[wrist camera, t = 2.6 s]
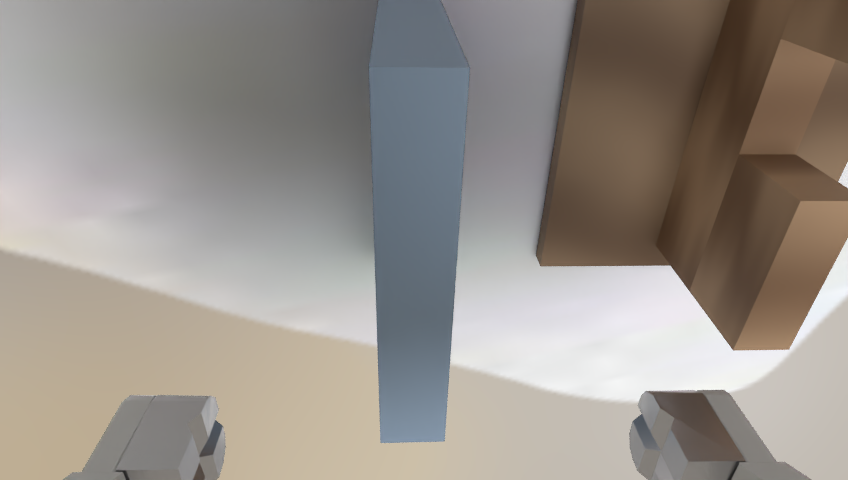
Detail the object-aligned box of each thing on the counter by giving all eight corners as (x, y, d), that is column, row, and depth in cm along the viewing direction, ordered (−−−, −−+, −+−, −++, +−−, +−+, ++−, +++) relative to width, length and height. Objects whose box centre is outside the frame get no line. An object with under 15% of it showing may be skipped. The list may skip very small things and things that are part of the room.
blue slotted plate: (379, -10, 17) (368, 66, 10) (436, -9, 17) (469, 68, 10) (384, 260, 23) (380, 442, 15) (427, 259, 23) (444, 441, 15)
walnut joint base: (617, -244, 14) (763, -334, 9) (1009, -228, 15) (1391, -304, 9) (536, 255, 23) (582, 375, 17) (786, 253, 24) (912, 369, 18)
